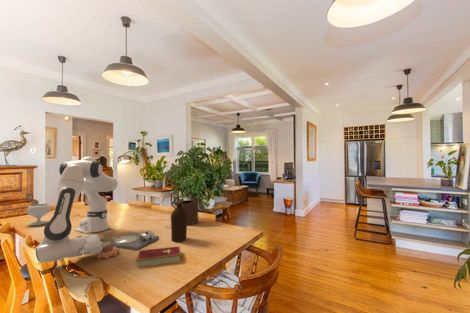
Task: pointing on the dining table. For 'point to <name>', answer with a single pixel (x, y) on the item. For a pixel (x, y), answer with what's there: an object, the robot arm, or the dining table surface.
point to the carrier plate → (134, 240)
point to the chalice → (38, 212)
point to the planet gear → (108, 249)
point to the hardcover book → (158, 256)
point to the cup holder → (190, 210)
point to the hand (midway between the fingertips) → (109, 240)
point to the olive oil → (178, 223)
